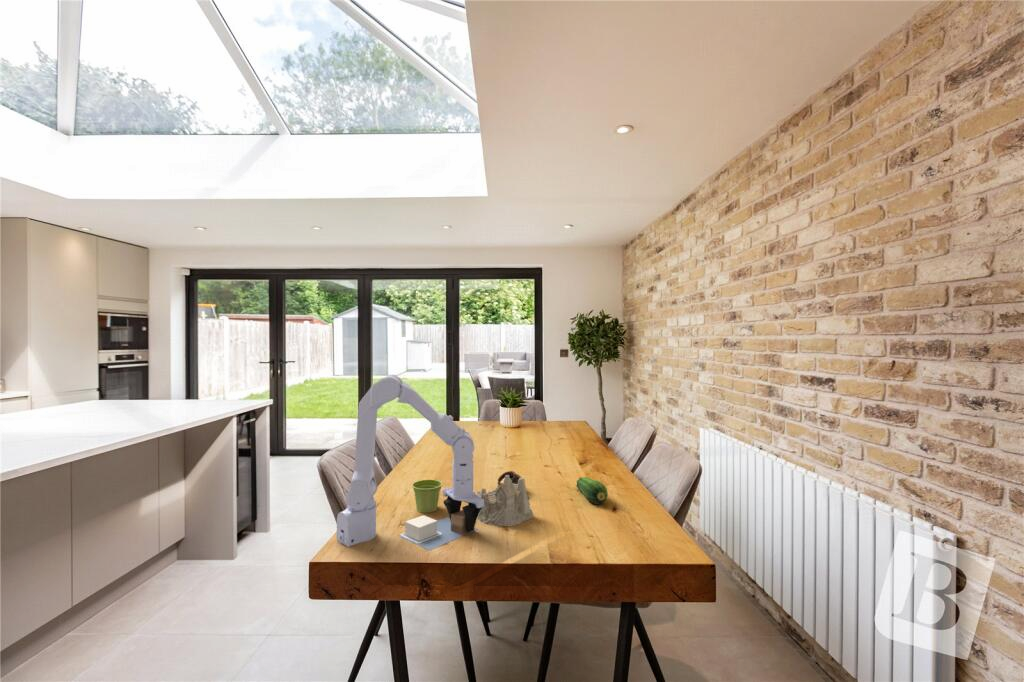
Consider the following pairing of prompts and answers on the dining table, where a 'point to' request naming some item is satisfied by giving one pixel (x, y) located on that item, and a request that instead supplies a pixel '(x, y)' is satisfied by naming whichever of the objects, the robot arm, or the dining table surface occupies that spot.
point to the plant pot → (427, 494)
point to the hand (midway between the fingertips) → (462, 527)
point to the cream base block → (421, 528)
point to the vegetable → (592, 490)
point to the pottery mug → (512, 476)
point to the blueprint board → (437, 535)
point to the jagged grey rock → (505, 504)
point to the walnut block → (458, 523)
